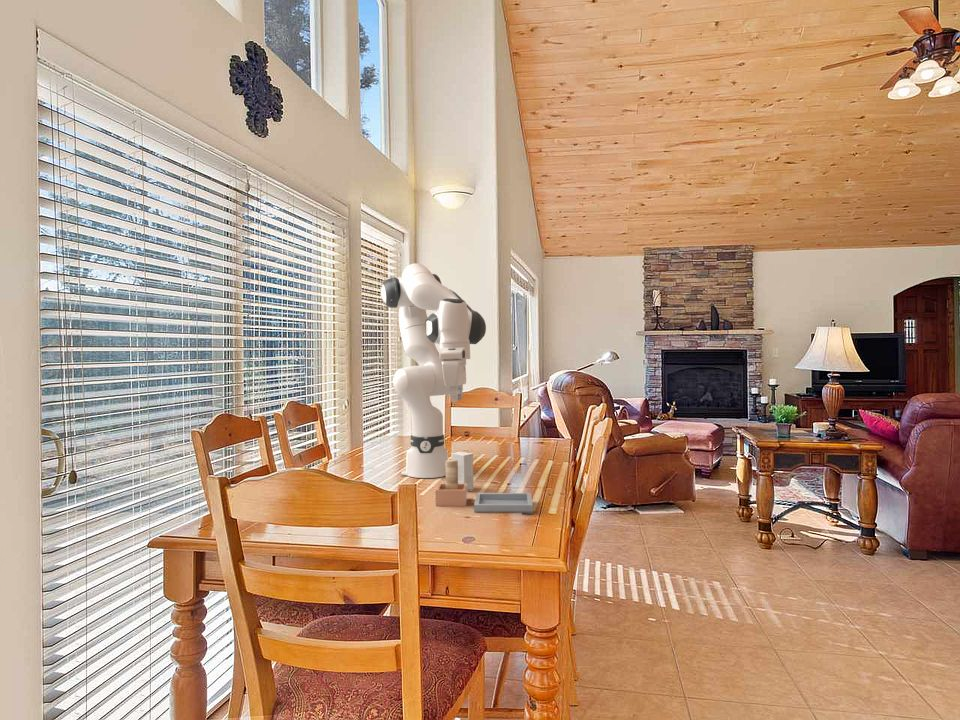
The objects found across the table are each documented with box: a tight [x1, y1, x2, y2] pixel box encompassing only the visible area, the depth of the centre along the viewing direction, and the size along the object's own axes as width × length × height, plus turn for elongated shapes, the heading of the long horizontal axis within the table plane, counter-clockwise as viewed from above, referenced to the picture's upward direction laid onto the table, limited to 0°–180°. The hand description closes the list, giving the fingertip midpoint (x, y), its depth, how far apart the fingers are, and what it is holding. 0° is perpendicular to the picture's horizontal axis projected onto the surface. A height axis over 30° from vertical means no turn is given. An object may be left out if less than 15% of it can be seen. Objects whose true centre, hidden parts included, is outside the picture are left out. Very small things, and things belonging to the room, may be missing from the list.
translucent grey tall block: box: [445, 459, 458, 490], centre depth 183 cm, size 4×4×12 cm
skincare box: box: [450, 451, 474, 493], centre depth 199 cm, size 6×4×12 cm
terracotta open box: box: [435, 483, 469, 507], centre depth 184 cm, size 9×9×5 cm
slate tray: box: [473, 492, 534, 515], centre depth 179 cm, size 14×16×2 cm
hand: (456, 401), depth 183 cm, fingers open, 8 cm apart
